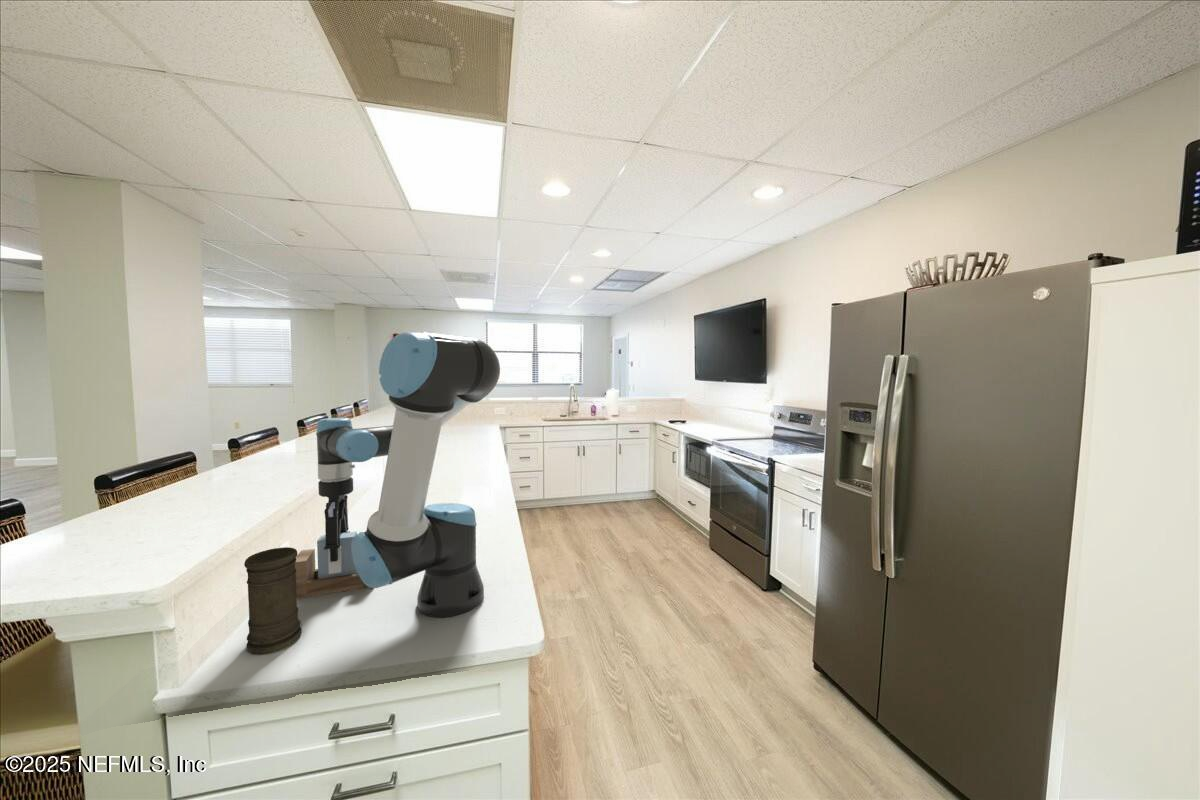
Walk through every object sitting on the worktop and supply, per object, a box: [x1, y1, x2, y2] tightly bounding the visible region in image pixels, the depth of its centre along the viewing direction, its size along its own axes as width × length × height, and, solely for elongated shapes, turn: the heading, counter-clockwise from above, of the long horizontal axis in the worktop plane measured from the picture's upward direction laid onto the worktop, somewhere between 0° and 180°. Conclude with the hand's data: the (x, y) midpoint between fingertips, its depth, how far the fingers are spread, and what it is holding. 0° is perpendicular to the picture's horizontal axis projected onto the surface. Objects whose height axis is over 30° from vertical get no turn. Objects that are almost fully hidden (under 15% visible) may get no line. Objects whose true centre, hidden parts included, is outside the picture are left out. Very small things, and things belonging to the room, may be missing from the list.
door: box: [316, 531, 358, 579], centre depth 107 cm, size 4×8×12 cm, turn 111°
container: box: [243, 546, 303, 656], centre depth 84 cm, size 9×9×18 cm
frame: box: [295, 548, 369, 599], centre depth 108 cm, size 8×18×9 cm, turn 111°
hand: (338, 566), depth 107 cm, fingers open, 6 cm apart
